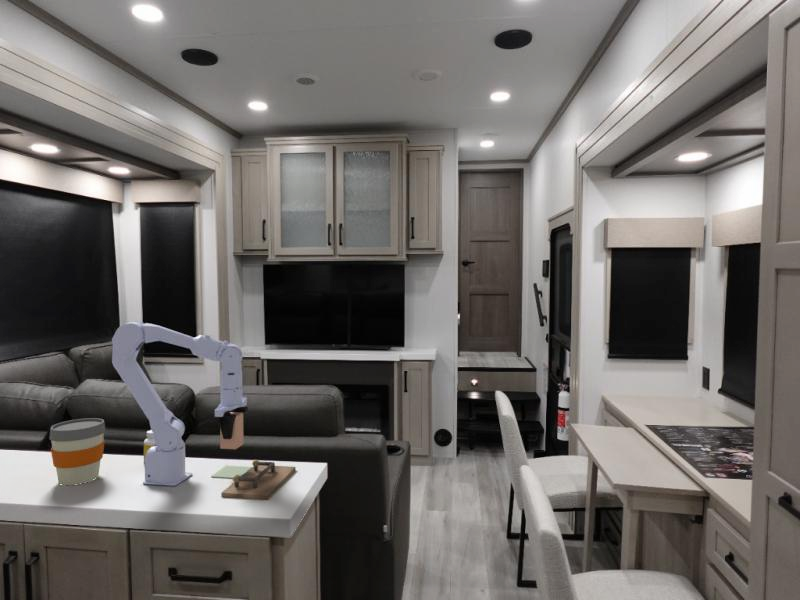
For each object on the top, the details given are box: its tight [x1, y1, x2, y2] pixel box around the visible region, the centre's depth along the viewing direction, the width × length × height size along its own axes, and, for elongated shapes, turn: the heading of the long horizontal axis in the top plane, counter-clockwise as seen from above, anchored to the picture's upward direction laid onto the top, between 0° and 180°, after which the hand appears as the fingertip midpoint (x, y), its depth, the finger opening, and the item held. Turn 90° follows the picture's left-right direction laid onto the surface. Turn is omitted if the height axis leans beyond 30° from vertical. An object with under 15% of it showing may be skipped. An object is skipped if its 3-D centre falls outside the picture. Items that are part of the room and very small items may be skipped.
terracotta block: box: [219, 412, 244, 450], centre depth 132 cm, size 4×4×9 cm
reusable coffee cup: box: [49, 417, 106, 486], centre depth 128 cm, size 13×13×15 cm
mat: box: [210, 465, 253, 480], centre depth 133 cm, size 8×8×1 cm
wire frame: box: [220, 459, 296, 501], centre depth 126 cm, size 12×19×4 cm, turn 172°
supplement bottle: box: [143, 429, 156, 467], centre depth 139 cm, size 5×5×10 cm
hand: (231, 435), depth 132 cm, fingers closed on terracotta block, 4 cm apart
